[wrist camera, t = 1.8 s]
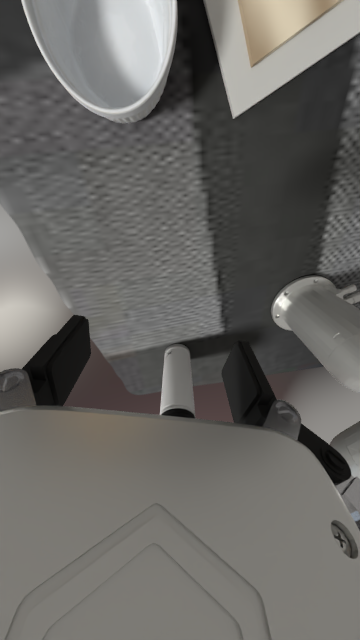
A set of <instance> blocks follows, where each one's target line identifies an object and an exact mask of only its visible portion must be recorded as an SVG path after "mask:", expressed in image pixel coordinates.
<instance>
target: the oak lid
mask: <svg viewBox="0 0 360 640" xmlns="http://www.w3.org/2000/svg"><path fill="white" fill-rule="evenodd" d="M342 1H343V0H238V5H239V10H240V15H241V20H242V25H243V30H244V35H245V40H246V46H247V51H248V56H249V61H250V66H251V68H252V67H253V66H255V65H256V64H258V63H259V62H260V61H262V60H263V59H264V58H266V57H267V56H268V55H270V54H271V53H273V52H274V51H275V50H277V49H278V48H279V47H281V46H282V45H283V44H285V43H286V42H287V41H289V40H290V39H292V38H293V37H294V36H296V35H297V34H298V33H300V32H301V31H302V30H304V29H305V28H307V27H308V26H309V25H311V24H312V23H313V22H315V21H316V20H317V19H319V18H320V17H321V16H323V15H324V14H326V13H327V12H328V11H330V10H331V9H332V8H334V7H335V6H336V5H338V4H339V3H341V2H342Z"/></svg>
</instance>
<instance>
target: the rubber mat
mask: <svg viewBox="0 0 360 640" xmlns="http://www.w3.org/2000/svg"><path fill="white" fill-rule="evenodd" d="M203 1H204V5H205V9H206V13H207V17H208V21H209V25H210V29H211V33H212V37H213V41H214V45H215V49H216V53H217V57H218V61H219V65H220V69H221V73H222V76H223V80H224V84H225V88H226V92H227V96H228V100H229V104H230V108H231V112H232V116H233V119H235V118H236V117H238V116H239V115H241V114H242V113H244V112H245V111H246V110H248V109H249V108H251V107H252V106H254V105H255V104H257V103H258V102H260V101H261V100H263V99H264V98H265V97H267V96H268V95H270V94H271V93H273V92H274V91H276V90H277V89H279V88H280V87H282V86H283V85H285V84H286V83H287V82H289V81H290V80H292V79H293V78H295V77H296V76H298V75H299V74H301V73H302V72H304V71H305V70H306V69H308V68H309V67H311V66H312V65H314V64H315V63H317V62H318V61H320V60H321V59H323V58H324V57H326V56H327V55H328V54H330V53H331V52H333V51H334V50H336V49H337V48H339V47H340V46H342V45H343V44H345V43H346V42H347V41H349V40H350V39H352V38H353V37H355V36H356V35H358V34H359V33H360V0H343V1H342V2H341V3H339V4H338V5H336V6H335V7H334V8H332V9H331V10H330V11H328V12H327V13H326V14H324V15H323V16H321V17H320V18H319V19H317V20H316V21H315V22H313V23H312V24H311V25H309V26H308V27H307V28H305V29H304V30H302V31H301V32H300V33H298V34H297V35H296V36H294V37H293V38H292V39H290V40H289V41H287V42H286V43H285V44H283V45H282V46H281V47H279V48H278V49H277V50H275V51H274V52H273V53H271V54H270V55H268V56H267V57H266V58H264V59H263V60H262V61H260V62H259V63H258V64H256V65H255V66H253V67H252V68H251V66H250V61H249V56H248V51H247V46H246V40H245V35H244V30H243V25H242V20H241V15H240V10H239V5H238V0H203Z"/></svg>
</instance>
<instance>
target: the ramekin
mask: <svg viewBox="0 0 360 640" xmlns="http://www.w3.org/2000/svg"><path fill="white" fill-rule="evenodd" d="M21 1H22V4H23V8H24V11H25V14H26V17H27V20H28V23H29V26H30V28H31V31H32V33H33V36H34V38H35V40H36V43H37V45H38V47H39V49H40V51H41V53H42V55H43V57H44V59H45V60H46V62H47V64H48V65H49V67H50V69H51V70H52V72H53V73H54V74H55V76H56V77H57V79H58V80H59V81H60V83H61V84H62V85H63V86H64V87H65V88H66V90H67V91H68V92H69V93H70V94H71V95H72V96H73V97H74V98H75V99H76V100H77V101H78V102H79V103H80V104H82V105H83V106H84V107H86V108H87V109H89V110H90V111H92V112H94V113H96V114H98V115H100V116H103V117H105V118H107V119H109V120H111V121H115V122H117V123H120V122H121V123H123V124H124V123H132V122H137V121H138V120H142V119H143V118H144V117H146V116H147V115H148V114H149V113H150V112H151V111H152V109H154V108H155V106H156V104H157V103H158V102H159V100H160V96H161V95H162V93H163V90H164V87H165V86H166V82H167V77H168V73H169V70H170V66H171V63H172V59H173V55H174V50H175V44H176V36H177V20H178V16H177V0H21Z"/></svg>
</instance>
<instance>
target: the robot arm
mask: <svg viewBox="0 0 360 640" xmlns="http://www.w3.org/2000/svg"><path fill="white" fill-rule="evenodd" d="M356 290H357V288H356V286H355V285H353V284H352V285H349V286H347V287H345V288H343V289H336V287H335V286H334V284H333V283H332V282H331V281H330V280H328V279H326V278H324V277H321V276H315V275H312V276H305V277H301V278H299V279H296V280H294V281H292V282H291V283H289V284H288V285H286V286H285V287H284V288H283V289H282V290H281V291H280V292H279V293H278V294H277V296H276V297H275V299H274V301H273V303H272V307H271V314H272V318H273V320H274V321H275V322H276V324H277V325H278V326H280V327H281V328H283V329H286V330H293V331H294V333H295V334H296V335H297V336H298V337H299V338H300V339H301V341H302V342H303V343H304V344H305V345H306V346H307V347H308V348H309V350H310V351H311V352H312V353H313V354H314V355H315V356H316V358H317V359H318V360H319V361H320V362H321V363H322V364H323V366H324V367H325V368H326V369H327V370H328V371H329V372H330V374H331V375H332V376H333V377H334V378H335V379H336V380H337V381H338V382H339V383H341V384H342V385H343V386H345V387H347V388H349V389H350V390H353V391H355V392H358V393H360V309H358V308H357V307H355V306H353V305H352V304H355V303H358V302H360V291H358V292H356V293H353V294H350V295H348V296H346V297H344V298H343V296H344V295H345V294H349V293H352V292H354V291H356ZM90 354H91V349H90V335H89V322H88V319H86V318H85V317H84V316H78V315H73V316H72V317H71V318H70V320H69V321H68V322H67V323H66V324H65V325H64V326H63V327H62V329H61V330H60V331H59V332H58V333H57V334H55V335H53V336H52V337H51V338H50V339H49V340H48V341H47V342H46V343H45V344H44V345H43V346H42V347H41V349H40V350H39V351H38V352H37V353H36V354H35V355H34V356H33V357H32V358H31V359H30V361H29V362H28V363H27V364H26V365H25V366H24V367H23V368H22V369H9V370H4V371H2V372H0V640H360V421H359V422H357V423H356V424H354V425H352V426H351V427H349V428H347V429H346V430H344V431H342V432H341V433H339V434H338V435H337V436H335V437H334V438H333V440H332V441H331V442H330V445H329V444H328V443H326V442H325V441H324V440H322V439H321V438H320V437H318V436H317V435H316V434H314V433H313V432H312V431H310V430H309V429H308V428H306V427H305V426H304V425H303V424H301V417H300V414H299V413H298V411H297V410H296V409H295V408H294V407H293V406H292V405H291V404H289V403H288V402H286V401H283V400H277V399H276V397H275V395H274V393H273V391H272V389H271V387H270V385H269V383H268V381H267V379H266V377H265V375H264V373H263V371H262V369H261V367H260V365H259V363H258V361H257V359H256V357H255V355H254V353H253V351H252V349H251V347H250V345H249V343H248V342H245V341H238V342H236V343H235V344H234V346H233V348H232V350H231V352H230V354H229V357H228V359H227V361H226V363H225V365H224V367H223V369H222V378H223V381H224V385H225V389H226V393H227V397H228V401H229V405H230V409H231V413H232V416H233V420H234V423H231V422H222V421H213V420H203V419H194V418H184V417H174V416H164V415H153V414H143V413H133V412H123V411H112V410H101V409H91V408H78V407H64V406H63V405H64V403H65V401H66V399H67V398H68V396H69V394H70V392H71V390H72V388H73V387H74V385H75V383H76V381H77V379H78V377H79V376H80V374H81V372H82V370H83V369H84V367H85V365H86V363H87V361H88V359H89V358H90Z"/></svg>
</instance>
